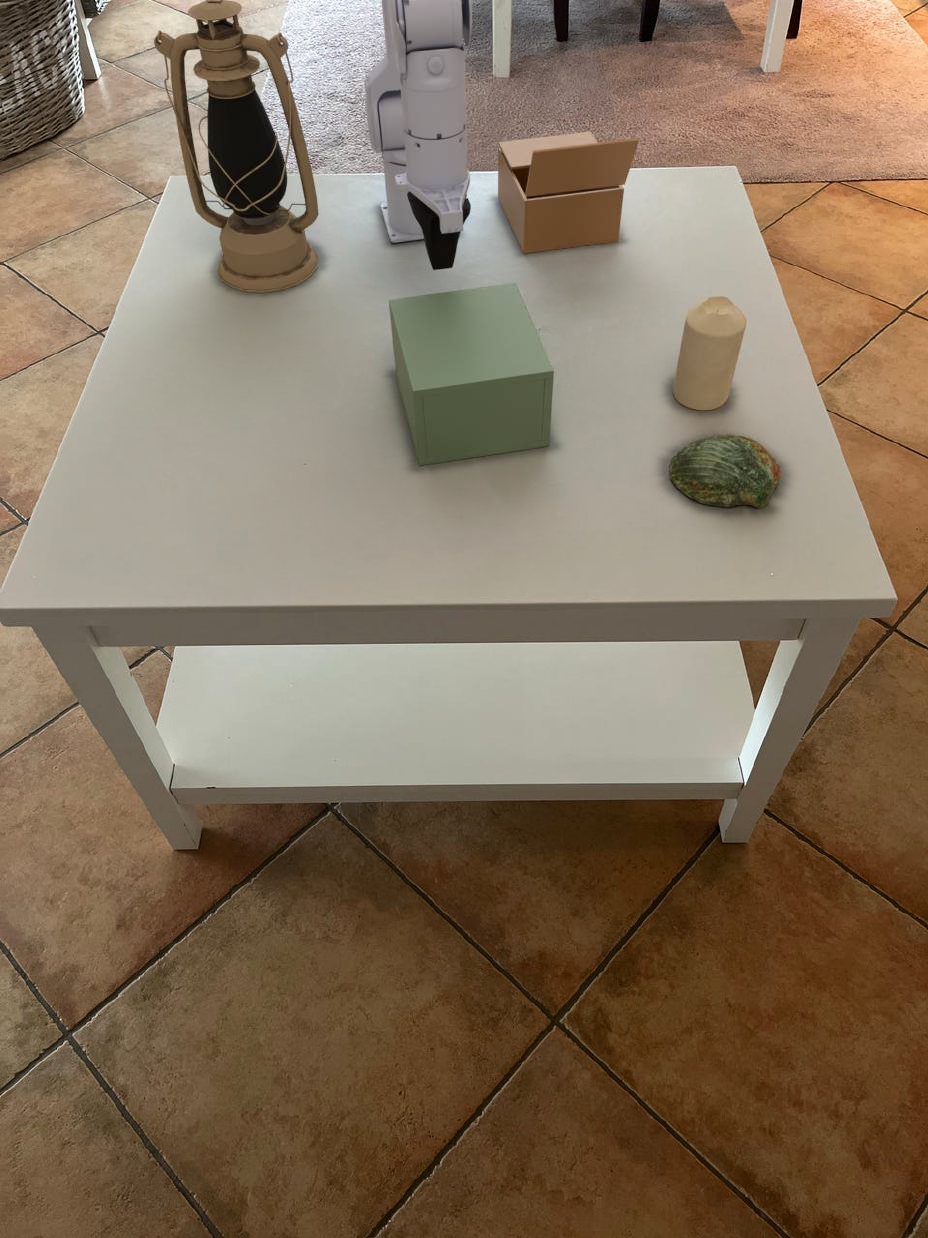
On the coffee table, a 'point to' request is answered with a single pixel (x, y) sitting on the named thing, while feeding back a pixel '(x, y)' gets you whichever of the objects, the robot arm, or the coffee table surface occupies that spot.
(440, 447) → the cabinet
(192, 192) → the lantern
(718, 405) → the candle
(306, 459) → the coffee table surface
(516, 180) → the carton
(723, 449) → the seashell
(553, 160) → the flap
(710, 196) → the coffee table surface
